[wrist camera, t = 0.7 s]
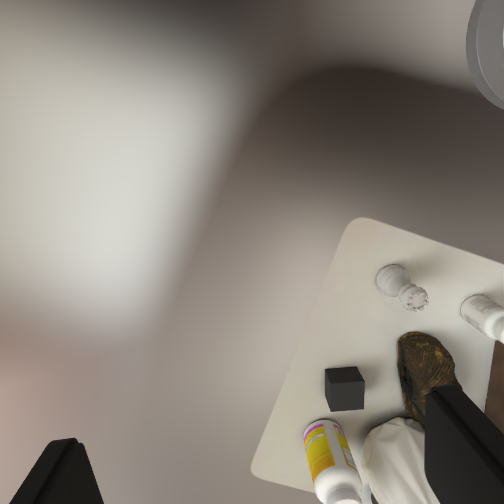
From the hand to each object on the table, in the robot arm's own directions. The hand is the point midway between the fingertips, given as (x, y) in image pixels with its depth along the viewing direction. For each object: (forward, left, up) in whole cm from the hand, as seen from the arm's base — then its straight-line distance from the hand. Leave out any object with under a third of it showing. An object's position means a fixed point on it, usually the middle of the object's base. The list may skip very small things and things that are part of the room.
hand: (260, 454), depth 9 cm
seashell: (+28, +26, -38) cm, 54 cm away
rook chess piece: (+11, +20, -38) cm, 44 cm away
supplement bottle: (+38, +10, -38) cm, 55 cm away
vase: (+41, +23, -38) cm, 60 cm away
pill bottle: (+17, +33, -38) cm, 53 cm away
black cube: (+28, +13, -38) cm, 49 cm away
